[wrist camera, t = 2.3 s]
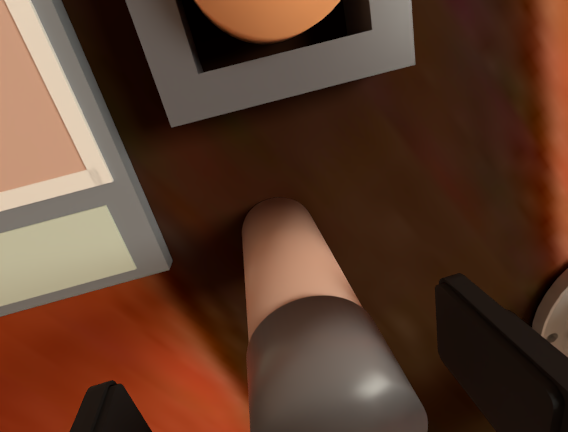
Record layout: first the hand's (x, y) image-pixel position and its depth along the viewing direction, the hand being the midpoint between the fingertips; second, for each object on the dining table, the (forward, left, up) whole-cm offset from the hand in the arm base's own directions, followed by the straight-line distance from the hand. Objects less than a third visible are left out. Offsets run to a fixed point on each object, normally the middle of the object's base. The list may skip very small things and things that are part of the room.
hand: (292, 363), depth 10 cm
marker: (-1, 0, -10) cm, 10 cm away
